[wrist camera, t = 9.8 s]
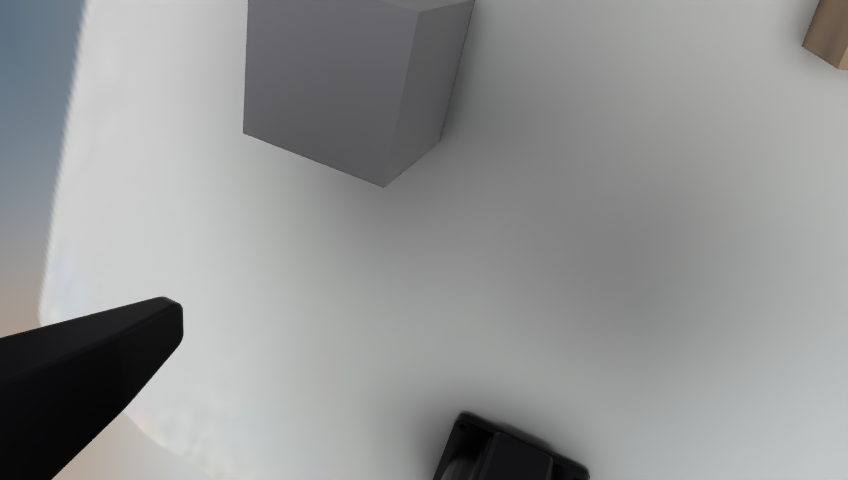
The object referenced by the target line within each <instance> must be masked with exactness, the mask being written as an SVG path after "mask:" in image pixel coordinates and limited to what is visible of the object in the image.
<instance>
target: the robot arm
mask: <svg viewBox="0 0 848 480" xmlns="http://www.w3.org/2000/svg"><path fill="white" fill-rule="evenodd" d="M183 333H184V332H183V308H182V306H181V304H179V303H177V302H175V301H173V300H171V299H169V298H167V297H156V298H152V299H148V300H145V301H141V302H137V303H133V304H129V305H125V306H121V307H118V308H114V309H110V310H106V311H102V312H98V313H94V314H91V315H87V316H83V317H79V318H75V319H71V320H67V321H64V322H60V323H56V324H52V325H48V326H44V327H40V328H37V329H33V330H29V331H25V332H21V333H17V334H14V335H10V336H6V337H2V338H0V480H51V479H53V477H55V476H56V475H57V474H58V473H59V472H60V471H61V470H62V469H63V467H65V466H66V465H67V464H68V463H69V462H70V461H71V460H72V459H73V458H74V457H75V456H76V455H77V454H78V453H79V452H80V451H81V450H83V449H84V448H85V447H86V446H87V445H88V444H89V443H90V442H91V441H92V439H94V438H95V437H96V436H97V435H98V434H99V433H100V432H101V431H102V430H103V429H104V428H105V427H106V426H107V425H108V424H109V423H110V422H111V421H112V420H113V419H115V417H117V416H118V414H120V413H121V412H122V411H123V410H124V409H125V408H126V407H127V405H128V404H129V403H130V402H131V401H132V400H133V399H134V398H135V397H136V395H137V394H138V393H139V392H140V391H141V390H142V388H143V387H144V386H145V385H146V384H147V382H148V381H149V380H150V379H151V378H152V377H153V375H154V374H155V373H156V372H157V371H158V370H159V368H160V367H161V366H162V365H163V364H164V363H165V361H166V360H167V359H168V358H169V357H170V355H171V354H172V353H173V352H174V351H175V350H176V348H177V347H178V346H179V344H180V343H181V341H182V338H183ZM464 424H466V425H467V426H466V425H464ZM577 478H579V479H577ZM589 478H590V476H589V474H588V472H587V471H586V470H584V469H583V468H581V467H579V466H576V465H574V464H572V463H570V462H568V461H566V460H564V459H562V458H560V457H557V456H555V455H553V454H551V453H549V452H547V451H545V450H543V449H540V448H538V447H536V446H534V445H532V444H530V443H528V442H526V441H523V440H521V439H519V438H517V437H515V436H513V435H511V434H509V433H506V432H504V431H502V430H500V429H498V428H496V427H494V426H492V425H489V424H487V423H485V422H483V421H481V420H479V419H477V418H475V417H473V416H470V415H468V414H460V415H458V417H457V419H456V421H455V423H454V426H453V428H452V431H451V434H450V436H449V439H448V441H447V444H446V447H445V449H444V452H443V455H442V457H441V460H440V462H439V465H438V468H437V470H436V473H435V475H434V478H433V480H589Z"/></svg>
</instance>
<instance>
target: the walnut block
mask: <svg viewBox="0 0 848 480" xmlns="http://www.w3.org/2000/svg"><path fill="white" fill-rule="evenodd" d="M802 47H804V48H806V49H807V50H809V51H810V52H812V53H814V54H815V55H817V56H818V57H820V58H821V59H823V60H825V61H826V62H828V63H829V64H831V65H833V66H834V67H836V68H837V69H844V70H848V0H820V1H819V3H818V6H817V9H816V11H815V14H814V16H813V19H812V21H811V24H810V26H809V29H808V31H807V34H806V37H805V39H804V42H803V44H802Z"/></svg>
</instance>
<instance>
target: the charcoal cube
mask: <svg viewBox="0 0 848 480" xmlns="http://www.w3.org/2000/svg"><path fill="white" fill-rule="evenodd" d="M474 1H475V0H248V19H247V44H246V69H245V95H244V120H243V133H244V134H247V135H249V136H252V137H254V138H257V139H259V140H262V141H265V142H267V143H270V144H272V145H275V146H278V147H280V148H283V149H285V150H288V151H290V152H293V153H296V154H298V155H301V156H303V157H306V158H308V159H311V160H314V161H316V162H319V163H321V164H324V165H327V166H329V167H332V168H334V169H337V170H339V171H342V172H345V173H347V174H350V175H352V176H355V177H357V178H360V179H363V180H365V181H368V182H370V183H373V184H376V185H378V186H381V187H383V188H384V187H385V186H387V185H388V184H389V183H390V182H391V181H393V180H394V179H395V178H396V177H397V176H399V175H400V174H401V173H402V172H403V171H405V170H406V169H407V168H408V167H409V166H411V165H412V164H413V163H414V162H415V161H417V160H418V159H419V158H420V157H421V156H423V155H424V154H425V153H426V152H427V151H428V150H430V149H431V148H432V147H433V146H434V145H436V144H437V143H438V142H439V141H440V138H441V134H442V130H443V126H444V122H445V117H446V113H447V109H448V105H449V101H450V97H451V93H452V89H453V85H454V81H455V77H456V73H457V69H458V65H459V61H460V57H461V53H462V49H463V45H464V41H465V37H466V33H467V29H468V25H469V21H470V17H471V13H472V9H473V5H474Z"/></svg>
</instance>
